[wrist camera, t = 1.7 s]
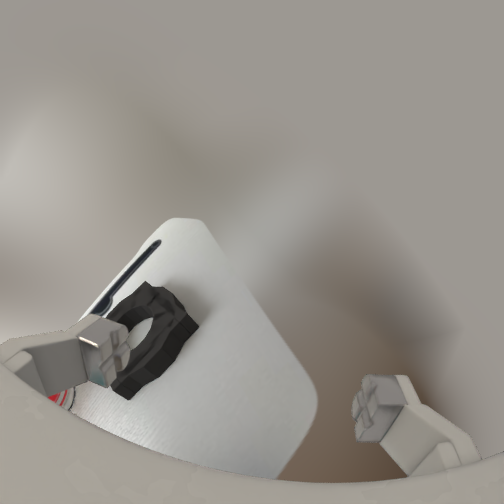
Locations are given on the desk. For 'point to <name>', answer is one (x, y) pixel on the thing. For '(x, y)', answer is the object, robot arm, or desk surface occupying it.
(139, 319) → the faceted black holder base
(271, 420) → the desk surface
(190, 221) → the desk surface
